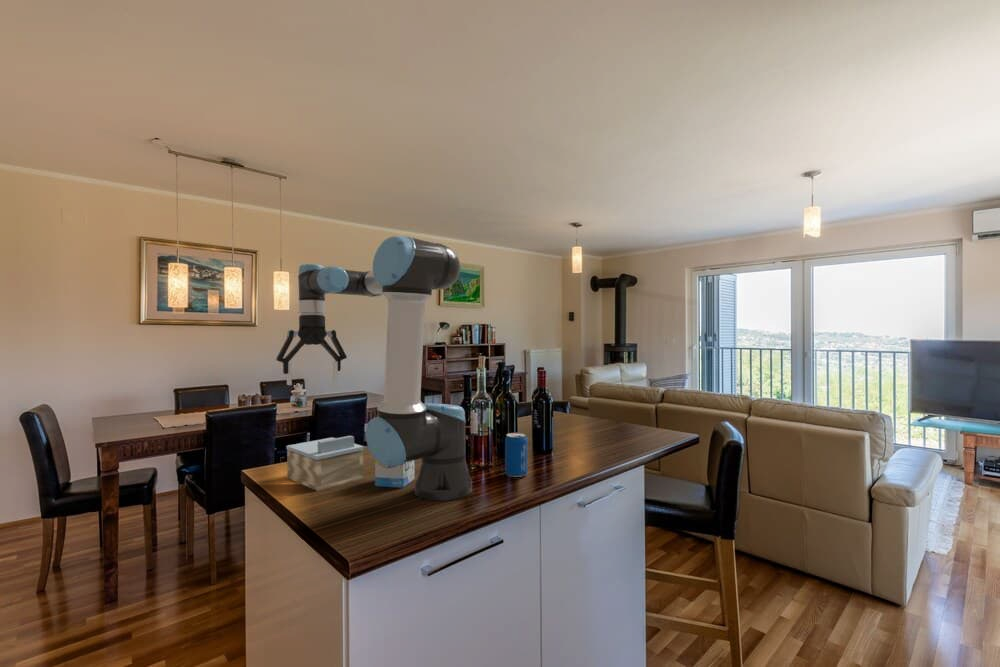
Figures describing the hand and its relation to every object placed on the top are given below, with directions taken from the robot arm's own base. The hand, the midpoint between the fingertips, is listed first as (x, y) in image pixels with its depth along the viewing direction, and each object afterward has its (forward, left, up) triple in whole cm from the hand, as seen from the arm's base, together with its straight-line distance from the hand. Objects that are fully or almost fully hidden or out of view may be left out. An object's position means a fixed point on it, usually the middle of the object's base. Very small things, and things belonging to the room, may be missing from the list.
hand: (312, 383), depth 141 cm
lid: (-10, +2, -18) cm, 21 cm away
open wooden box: (-10, +2, -27) cm, 29 cm away
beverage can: (-51, -36, -27) cm, 69 cm away
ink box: (-29, -9, -27) cm, 41 cm away
